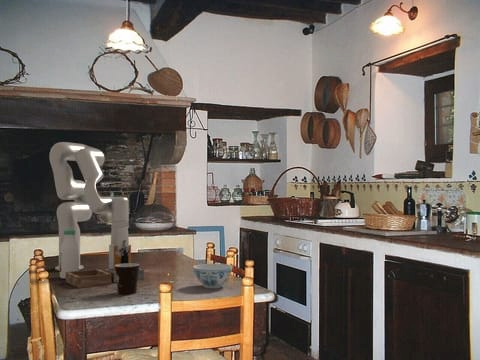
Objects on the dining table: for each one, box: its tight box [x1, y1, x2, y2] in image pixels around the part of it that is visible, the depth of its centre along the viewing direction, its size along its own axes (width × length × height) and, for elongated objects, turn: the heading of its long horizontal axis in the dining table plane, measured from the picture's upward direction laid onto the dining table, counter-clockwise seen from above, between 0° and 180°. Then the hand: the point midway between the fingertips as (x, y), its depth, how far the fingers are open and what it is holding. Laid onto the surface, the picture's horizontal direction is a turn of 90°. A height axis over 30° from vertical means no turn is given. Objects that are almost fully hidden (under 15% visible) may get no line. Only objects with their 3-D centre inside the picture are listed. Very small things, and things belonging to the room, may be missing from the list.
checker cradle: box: [103, 267, 145, 283], centre depth 207 cm, size 11×13×4 cm
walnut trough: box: [65, 268, 112, 289], centre depth 198 cm, size 16×13×4 cm
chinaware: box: [192, 263, 233, 289], centre depth 190 cm, size 15×15×8 cm
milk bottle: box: [59, 230, 80, 280], centre depth 212 cm, size 8×8×20 cm
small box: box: [108, 244, 132, 269], centre depth 221 cm, size 8×6×13 cm
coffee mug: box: [115, 262, 140, 296], centre depth 177 cm, size 12×9×10 cm
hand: (120, 263), depth 221 cm, fingers open, 9 cm apart
